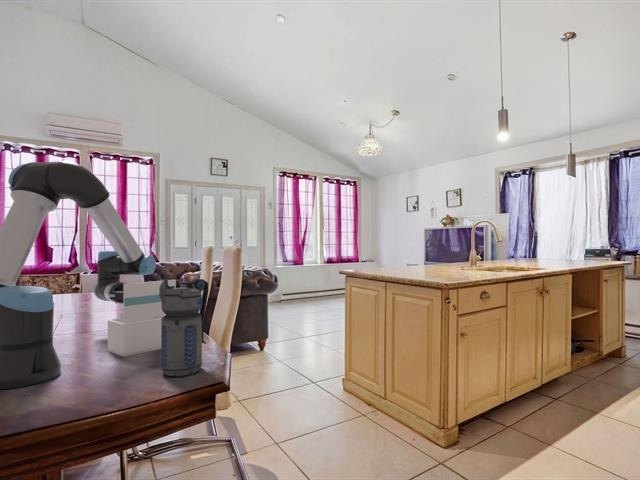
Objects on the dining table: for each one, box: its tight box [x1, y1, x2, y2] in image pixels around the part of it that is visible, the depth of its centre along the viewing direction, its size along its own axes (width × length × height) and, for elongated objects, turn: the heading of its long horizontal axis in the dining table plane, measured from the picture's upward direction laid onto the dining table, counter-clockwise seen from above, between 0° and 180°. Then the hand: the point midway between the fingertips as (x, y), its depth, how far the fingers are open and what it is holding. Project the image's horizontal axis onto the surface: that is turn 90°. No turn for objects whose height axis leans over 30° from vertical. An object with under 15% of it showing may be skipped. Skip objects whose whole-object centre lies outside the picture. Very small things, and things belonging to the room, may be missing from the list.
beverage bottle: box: [159, 278, 209, 377], centre depth 97 cm, size 10×13×25 cm
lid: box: [122, 279, 177, 321], centre depth 116 cm, size 11×17×1 cm
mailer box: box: [107, 315, 165, 358], centre depth 120 cm, size 12×16×10 cm
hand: (150, 297), depth 119 cm, fingers closed
